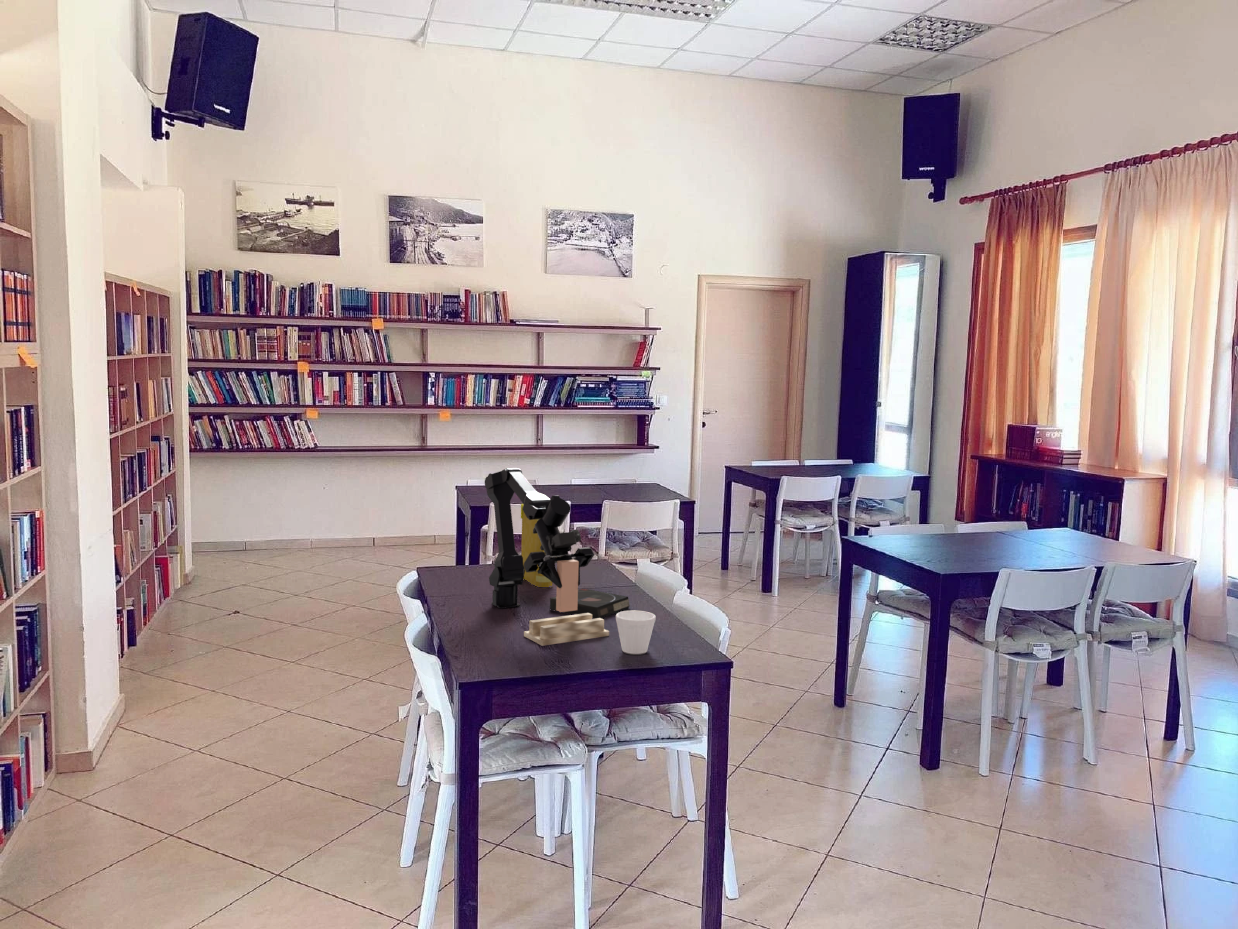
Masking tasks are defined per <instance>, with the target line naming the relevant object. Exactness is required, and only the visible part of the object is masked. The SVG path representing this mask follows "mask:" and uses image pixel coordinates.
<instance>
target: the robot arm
mask: <svg viewBox="0 0 1238 929" xmlns="http://www.w3.org/2000/svg"><path fill="white" fill-rule="evenodd" d="M484 488H485V489H486V494H487V496H488V498H489V499H490V501H491V502H492V503H493V507H494V508H493V509H494V520H495V527H496V536H497V547H498V553H497V556H496V558H495V560H494V564H493V566H494V569H492V572H491V574H489V577H488V581H489V585H490V586H492V587H493V590H492V597H491V598H492V600H491V605H492V606H495V607H496V606H497V608H498V609H508V608H515V607H516V606H517V607H521V604H520V603H518V594H519V592H518V590H519V589H518V588H519V586H522V585H523V583H524V580H523V578H524V573H525V571H526V572H536V570H537V569H538V566H539V570H538V571H537V572H538V574H542V575H543V576H545V577H546V578H548V579H549V580H550V581H551V582H553V584H554V585H555V586H556V588H557V587H559V588H561V587H562V583H561V580H560V578H559V575H558V573H557V567H556V564H557V561H564V560H577V561H579V569H578V587H579V586H580V585H581V568H584V567H587V566H588V565H589V564H590V562H591V560H592V559H593V558H594V556H595V553H594V550H593V548H591V547H587V546H586V547H578V548H577V549H576V550H575V552H574V553H569V552H570V551H571V550H572V546H574V545H577V543H579V542H581V541H582V537H581V533H580V531H579V529H572V530H571V531H567V532H565V531H564V532H560V527H561V526H562V525H563V524H564V523H565V520H566V519H567V517H568V516H569V514H570V512H571V510H572V508H571V505H570V503H568V502H567V501H566V500H565V499H562V498H561V497H560V494H559V495H556V494H555V495H552V496H551V497H550V498H549V497H548V496H547V495H546V494H543V493H541V492H538V491H537V490H536V489H535V488H534V487H533V485H532V484H531V483H530V482H529V481H528V479H527V478H526V477H525V475H523V471H522V469H521V468H518V467H510V468H509V467H508V468H504V469H502V470H500V471H497V472H493V473H492V472H491V473H488V475H487V476H485V478H484ZM514 494H515V495H516V496H517V497H518V499H519V500H520V501H521V502H522V503H521V504H523V511H524V513H525V515H526V517H527V518H528V519H529V520H536V519H539V520H538V521H537V523H536V524H535V527H534V529H533V533H534V534H536V533H537V534H538V536H539V539H540V541H541V544H542V545H541V547H540V549H541V550H544V552H545V553H544V552H542V551H541V552H531V553H530V554H529V556H528V557H527V559H526V561H525V562H524V565H523V557H522V555H521V554H519V553H518V552H517V550H516V544H515V533H514V526H513V525H514V524H513V523H514V522H513V515H512V514H513V513H512V507H511V506H512V504H511V501H512V498H513V497H514ZM545 554H546V555H545ZM537 565H538V566H537ZM524 568H525V569H524ZM517 607H516V608H517Z"/></svg>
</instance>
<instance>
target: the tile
mask: <svg viewBox="0 0 1238 929" xmlns="http://www.w3.org/2000/svg"><path fill="white" fill-rule="evenodd" d="M578 569H579V561H577V560H564V561H557V563H556V570H557V573H558V575H559V578H560V580H561V583H562V587H561V588H559V587H557V586H556V596H555V597H556V610H557V611H559V612H558V613H561V612H567V611H574V610H577V605H578V590H579V586H578Z"/></svg>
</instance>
